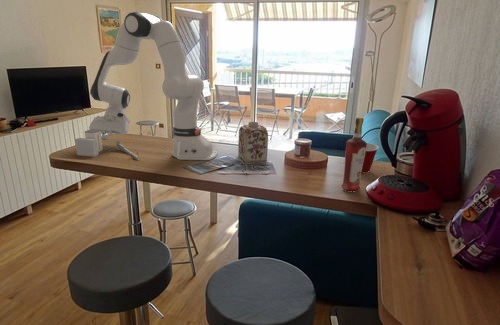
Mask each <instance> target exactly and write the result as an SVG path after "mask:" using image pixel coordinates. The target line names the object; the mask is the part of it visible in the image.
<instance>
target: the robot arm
mask: <svg viewBox="0 0 500 325" xmlns="http://www.w3.org/2000/svg"><path fill="white" fill-rule="evenodd" d="M144 39H145V40H153V41H154V43H155V45H156V48H157V50H158V53H159V56H160V58H161V62H162V65H163V71H164V72H163V73H164V80H163V82H162V85H161V86H162V87H161V88H162V92H163V94H164V96H166V97H167V99H171V100H177V103H176V106H175V107H174V109H173V111H172V112H173V127H172V129H173V130H172V134H173V135H172V136H173V147H172V148H173V149H172V154H171V156H173V157H174V158H176V159H177V160H178V161H179V160H182V161H183V160H184V161H185V160H186V161H211V160H213V159H215V158H216V157H217V156H218V151H217V150H214V149H213V144H212V142H211V141H210V140H209V139H207V138H206V137H205V136H203V135H202V127H201V128H200V127H198V125H197V124H198V121H197V120H198V118H197V117H198V114H197V113H198V106H199V100H200V96H201V94H202V92H203V90H204V88H205V87H204V86H205V85H204V84H205V83H204V81H203V79H202V78H201V77H200V76H198V75H196V74H193V73H188V74H187V73H186V62H187V56H186V54H185V50H184V48H183V45H182V42H181V39H180V37H179V35H178V33H177V31H176V29H175V26H174V25H173V24H172V23H171V22H170V21H168V20H163V19H162V18H160V17H159V16H156V15H152V14H149V13H145V12H139V11H132V12H130V13H127V15H126V16H125V17H124V22H122V23H121V24H120V26H119V28H118V30H117V33H116V38H115V42H114V46H113V47H112V49H111V50H109V51H107V52H106V53H104V56H103V57H102V60H101V63H100V65H99V68H98V71H97V73H96V76H95V78H94V80H93V83H92V84H91V87H90V93H89V94H90V96H91V97H92V99H93V100H95V101H98V102H103V103H108V107H107V108H106V110H105V111H104V115H103V116H101V115H99V116H95V117H94V118H93V119H92V121H91V123H90V125H89V127H88V128H89V129H88V130H90V129H96V130H101V138H102V141H108V140H109V138H110V137H111V136H113V134H114V135H127V134H128V132H129V129H130V123H131V120H130V119H129V116H127V115H126V114H125V111H126V110H127V107H129V103H130V101H131V94H130V93H129V91H128V90H127V88H125V87H122V86H118V85H114V84H111V83H108V82H106V79H107V75H108V73H109V70H110V68H111V67H114V66H126V65H130V64H132V63H134V62H136V60H137V59H138V58H137V57H138V55H139V51H140V46H141V42H142V41H143V40H144Z"/></svg>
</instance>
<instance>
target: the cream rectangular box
mask: <svg viewBox="0 0 500 325" xmlns="http://www.w3.org/2000/svg"><path fill="white" fill-rule="evenodd" d="M101 137H102V134H101V130H96V129H88V130H85V131H84V138H88V139H97V147H98V152H100V151H102V150H104V148H103V140H102V138H101Z"/></svg>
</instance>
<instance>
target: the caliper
mask: <svg viewBox="0 0 500 325" xmlns="http://www.w3.org/2000/svg"><path fill="white" fill-rule="evenodd" d="M115 147H116V148H115V149H116V150H118V151H121V152H122V153H126V154H127V155H129V156H130V157H131V158H133V159H134V160H136V161H141V159H140V157H139V156H138V155H137V154H135V153H133V152H132V151H130V150H129V149H127V148H126V146H125V145H123V144H122V143H121V140H116V144H115Z"/></svg>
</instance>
